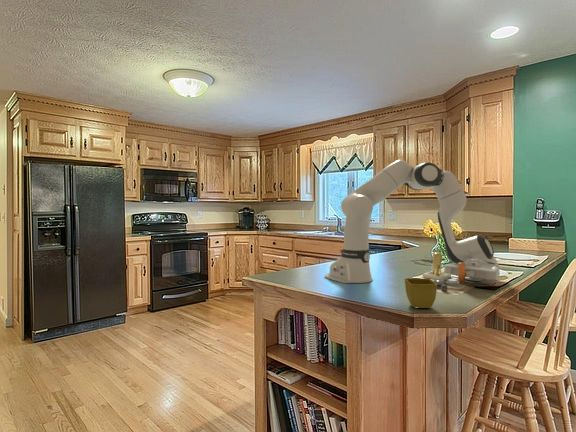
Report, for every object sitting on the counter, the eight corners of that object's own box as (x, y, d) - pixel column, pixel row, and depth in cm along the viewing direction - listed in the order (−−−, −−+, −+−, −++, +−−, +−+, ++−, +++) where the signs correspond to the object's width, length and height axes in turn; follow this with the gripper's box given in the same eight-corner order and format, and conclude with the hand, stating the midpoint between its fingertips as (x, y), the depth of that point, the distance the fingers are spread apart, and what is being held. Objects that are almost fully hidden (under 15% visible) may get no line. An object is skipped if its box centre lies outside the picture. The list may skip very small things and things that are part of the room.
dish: (422, 278, 164) (422, 273, 164) (431, 275, 170) (431, 270, 170) (442, 281, 157) (442, 276, 157) (450, 278, 163) (451, 273, 163)
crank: (433, 285, 144) (433, 262, 144) (433, 282, 148) (433, 260, 148) (465, 287, 139) (465, 264, 139) (464, 285, 144) (464, 262, 143)
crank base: (412, 288, 146) (412, 281, 146) (431, 281, 158) (431, 274, 158) (457, 296, 133) (457, 289, 133) (475, 288, 145) (475, 281, 145)
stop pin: (431, 277, 163) (431, 253, 162) (434, 275, 166) (435, 252, 165) (439, 278, 161) (439, 254, 160) (442, 276, 163) (442, 253, 163)
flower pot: (429, 303, 126) (430, 278, 125) (437, 311, 117) (437, 284, 117) (404, 303, 127) (404, 278, 126) (410, 311, 118) (410, 284, 118)
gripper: (451, 258, 159) (437, 263, 150) (503, 264, 144) (491, 269, 135) (451, 272, 160) (437, 278, 150) (502, 280, 145) (491, 286, 135)
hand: (463, 274), depth 142 cm, fingers closed, pressing on crank
